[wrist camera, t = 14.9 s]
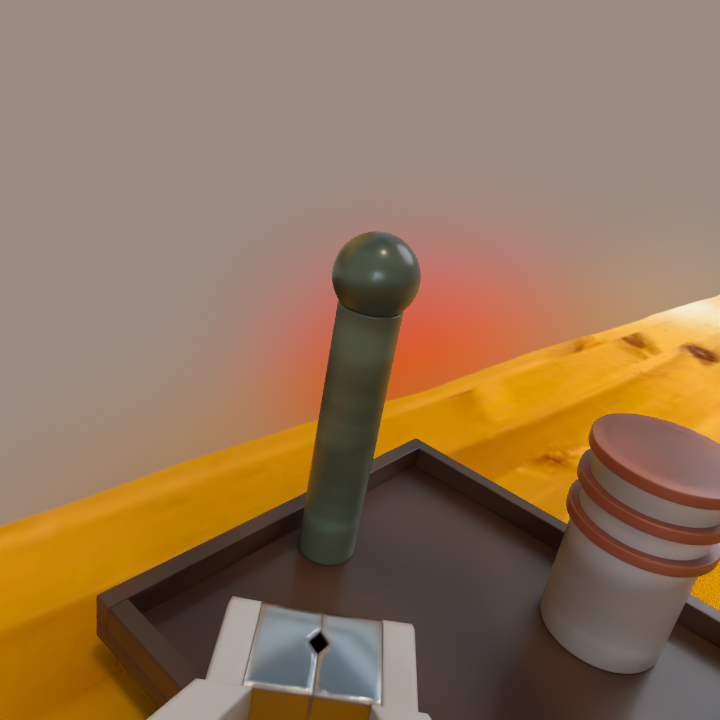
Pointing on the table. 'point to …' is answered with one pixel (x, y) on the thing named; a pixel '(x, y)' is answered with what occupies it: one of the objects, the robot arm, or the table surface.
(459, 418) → the table surface
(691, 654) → the tray
